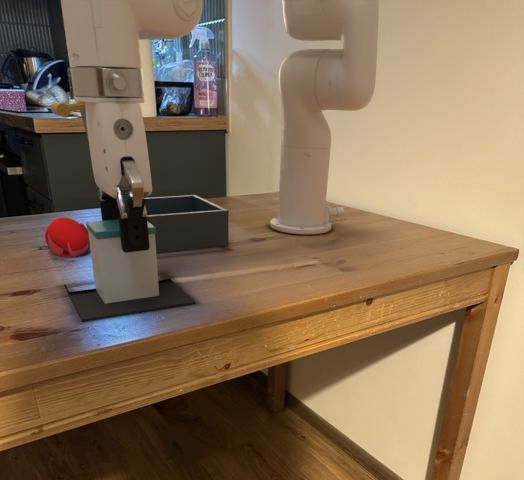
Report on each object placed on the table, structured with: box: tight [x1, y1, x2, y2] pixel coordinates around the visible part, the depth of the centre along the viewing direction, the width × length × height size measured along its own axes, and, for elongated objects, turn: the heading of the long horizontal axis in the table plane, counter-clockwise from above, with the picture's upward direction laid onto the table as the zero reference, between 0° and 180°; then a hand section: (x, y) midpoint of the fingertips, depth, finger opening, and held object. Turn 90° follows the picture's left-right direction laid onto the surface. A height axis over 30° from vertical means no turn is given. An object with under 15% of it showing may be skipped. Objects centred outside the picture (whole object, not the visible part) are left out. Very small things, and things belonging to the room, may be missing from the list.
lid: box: [50, 101, 127, 203], centre depth 76 cm, size 17×15×6 cm
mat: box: [63, 278, 196, 323], centre depth 66 cm, size 14×13×1 cm
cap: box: [44, 216, 91, 258], centre depth 79 cm, size 8×6×6 cm
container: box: [85, 220, 159, 304], centre depth 64 cm, size 7×6×9 cm
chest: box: [144, 194, 229, 255], centre depth 87 cm, size 17×15×7 cm
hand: (125, 240), depth 63 cm, fingers open, 9 cm apart
